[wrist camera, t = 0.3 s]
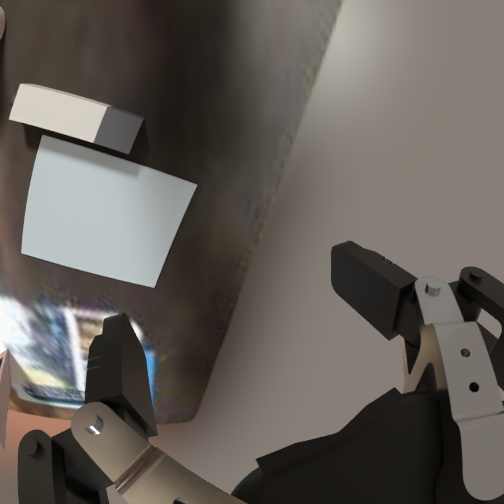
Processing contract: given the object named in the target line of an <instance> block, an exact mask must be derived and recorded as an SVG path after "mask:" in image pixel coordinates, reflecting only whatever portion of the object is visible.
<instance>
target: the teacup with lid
mask: <svg viewBox="0 0 504 504" xmlns="http://www.w3.org/2000/svg"><path fill="white" fill-rule="evenodd" d="M4 28H5V13H4V11H3V9H2V8H1V7H0V40H1V38H2V35H3V32H4Z"/></svg>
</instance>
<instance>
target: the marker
mask: <svg viewBox="0 0 504 504" xmlns="http://www.w3.org/2000/svg"><path fill="white" fill-rule="evenodd" d="M10 105H11V106H13V107H12V110H11V114H10V117H9V119H10V120H14V121H18V122H22V123H26V124H29V125H33V126H37V127H41V128H44V129H48V130H51V131H55V132H58V133H62V134H65V135H69V136H72V137H75V138H79V139H82V140H85V141H89V142H92V143H95V144H98V145H101V146H105V147H108V148H111V149H114V150H117V151H120V152H123V153H126V154H129V153H130V150H131V148H132V145H133V143H134V140H135V138H136V135H137V133H138V131H139V128H140V126H141V124H142V122H143V119H144V117H143V116H140V115H137V114H134V113H131V112H128V111H125V110H122V109H120V108H116V107H113V106H110V105H107V104H104V103H101V102H98V101H94V100H91V99H88V98H84V97H81V96H78V95H74V94H70V93H67V92H63V91H59V90H55V89H51V88H47V87H43V86H39V85H35V84H20V87H19V89H18V92H15V93H14V94H13V96H12V98H11V101H10Z"/></svg>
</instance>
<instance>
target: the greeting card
mask: <svg viewBox="0 0 504 504" xmlns="http://www.w3.org/2000/svg"><path fill="white" fill-rule="evenodd" d="M10 389H11V377H10V368H9V358H8V349H7V350H5V351H4V352H2V353H1V354H0V444H1V446H2V448H3V450H4V451H5V437H6V436H5V435H6V422H7V412H8V403H9V396H10Z"/></svg>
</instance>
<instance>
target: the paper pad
mask: <svg viewBox="0 0 504 504" xmlns="http://www.w3.org/2000/svg"><path fill="white" fill-rule="evenodd" d="M196 187H197V184H194V183H191V182H189V181H186V180H183V179H180V178H178V177H175V176H172V175H169V174H166V173H163V172H160V171H158V170H155V169H152V168H149V167H146V166H143V165H140V164H137V163H134V162H131V161H128V160H125V159H122V158H119V157H116V156H113V155H110V154H106V153H103V152H100V151H97V150H94V149H91V148H87V147H84V146H81V145H77V144H74V143H71V142H67V141H64V140H61V139H57V138H54V137H50V136H47V135H42V138H41V141H40V145H39V149H38V152H37V156H36V160H35V164H34V169H33V173H32V178H31V183H30V188H29V193H28V199H27V205H26V212H25V220H24V228H23V238H22V251H21V253H23V254H26V255H29V256H33V257H36V258H39V259H43V260H46V261H50V262H53V263H57V264H60V265H64V266H67V267H71V268H75V269H79V270H82V271H86V272H90V273H94V274H98V275H102V276H106V277H110V278H114V279H118V280H122V281H126V282H131V283H135V284H139V285H144V286H148V287H153V288H155V285H156V282H157V280H158V277H159V274H160V272H161V269H162V267H163V264H164V262H165V259H166V257H167V254H168V252H169V249H170V247H171V244H172V242H173V239H174V237H175V235H176V232H177V230H178V227H179V225H180V223H181V220H182V218H183V216H184V214H185V211H186V209H187V207H188V204H189V202H190V200H191V198H192V196H193V193H194V191H195V189H196Z"/></svg>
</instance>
